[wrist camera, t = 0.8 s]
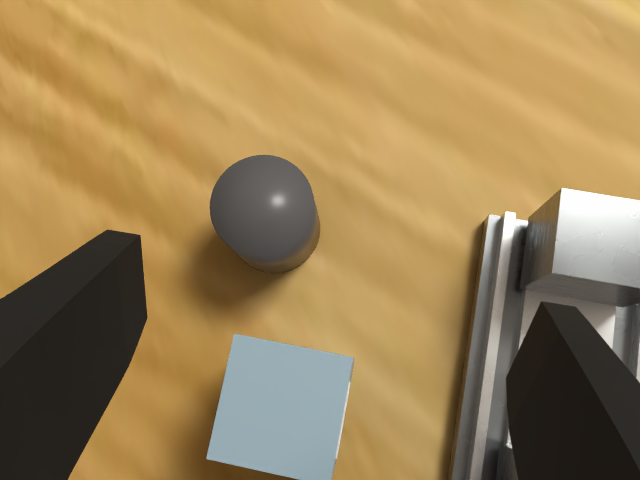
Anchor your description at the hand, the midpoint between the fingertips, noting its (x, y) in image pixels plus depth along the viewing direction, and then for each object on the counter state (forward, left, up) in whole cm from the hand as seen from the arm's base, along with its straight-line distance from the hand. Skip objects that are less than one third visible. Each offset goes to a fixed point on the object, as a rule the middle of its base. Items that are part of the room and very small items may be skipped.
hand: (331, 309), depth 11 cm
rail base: (0, -8, -15) cm, 17 cm away
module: (-3, +2, -15) cm, 15 cm away
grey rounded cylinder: (+4, +4, -15) cm, 16 cm away
